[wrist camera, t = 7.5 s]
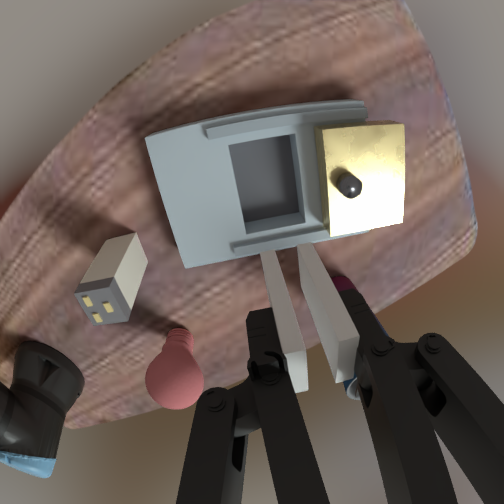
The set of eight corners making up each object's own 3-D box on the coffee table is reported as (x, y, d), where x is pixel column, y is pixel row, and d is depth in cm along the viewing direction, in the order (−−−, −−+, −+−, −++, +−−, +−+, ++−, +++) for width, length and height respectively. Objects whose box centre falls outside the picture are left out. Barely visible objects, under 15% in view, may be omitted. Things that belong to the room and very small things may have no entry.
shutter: (322, 225, 29) (334, 242, 26) (313, 126, 24) (327, 131, 21) (390, 212, 29) (408, 227, 26) (390, 120, 24) (411, 126, 21)
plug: (119, 268, 33) (93, 327, 24) (106, 239, 31) (73, 295, 22) (147, 261, 33) (127, 322, 24) (136, 232, 31) (108, 288, 22)
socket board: (187, 253, 33) (184, 271, 30) (152, 133, 26) (142, 138, 23) (357, 220, 33) (370, 234, 30) (350, 99, 25) (366, 101, 22)
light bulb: (154, 310, 37) (138, 385, 27) (207, 317, 38) (205, 393, 28) (155, 345, 40) (144, 414, 30) (202, 350, 42) (201, 421, 31)
